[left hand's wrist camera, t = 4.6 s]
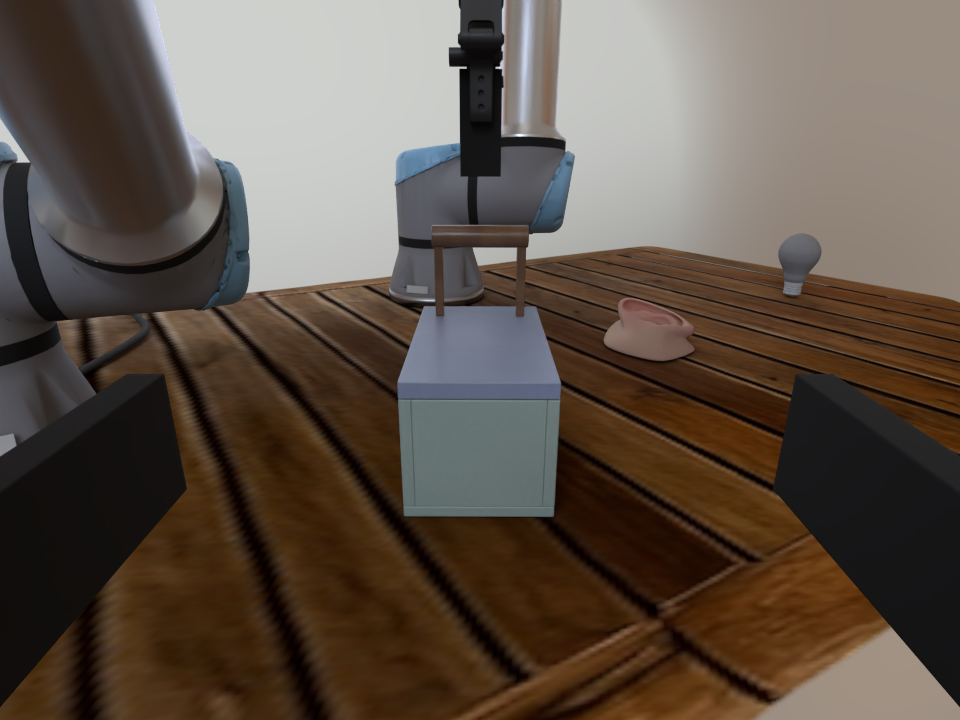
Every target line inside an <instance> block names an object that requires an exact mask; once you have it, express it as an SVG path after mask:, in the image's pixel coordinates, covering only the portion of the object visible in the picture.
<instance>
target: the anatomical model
mask: <svg viewBox="0 0 960 720" xmlns="http://www.w3.org/2000/svg"><path fill="white" fill-rule="evenodd" d="M618 313H619V317H620V320H618V321H617V322H615V323H614V324H613V325H612V326H611V327H610V328H609V329H608V331H607V333H606V334H605V337H604V343H605V345H606V346H607V347H609V348H611V349H613V350H615V351H618V352H621V353H624V354H627V355H631V356H634V357H638V358H643V359H647V360H653V361H668V360H673V359H676V358H680V357H683V356H686V355H688V354H690V353H692V352H693V351H694V350H695V349H694V347H693V345H692V344H691V343H690V342H689V341H688V340H687V337H689V336H691V335H692V334H693V333H694V331H695V329H694V327H693V326H692V325H691V324H690V323H689V322H687V321H686V320H685V319H683V318H682V317H681V316H679V315H678V314H676V313H674V312H672V311H670V310H667V309H665V308H662V307H660V306H657V305H654V304H652V303H649V302H645V301H642V300H639V299H634V298H624V299H622V300H621V301H620V302H619V305H618Z"/></svg>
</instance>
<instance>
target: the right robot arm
mask: <svg viewBox="0 0 960 720" xmlns="http://www.w3.org/2000/svg"><path fill="white" fill-rule="evenodd" d="M561 7H562V0H459V8H460V9H461V21H460V33H459V34H458V44H459V45H461V48H449V66H450V67H467V69H460V143H456V144H448V145H440V146H433V147H426V148H419V149H412V150H407V151H404V152H402V153H401V154H400V155H399V156H398V158H397V160H396V182H395V186H396V198H397V217H398V235H399V252H398V255H397V259H396V263H395V266H394V270H393V274H392V277H391V281H390V287H389V291H390V298H391V299H392V300H393V301H395V302H397V303H400V304H404V305H409V306H416V307H424V306H435V266H434V247H432V241H431V228H432V225H528V227H529V234H533V233H552V232H555V231H557V230H558V229H559V228H560V227H561V226H562V223H563V219H564V214H565V208H566V203H567V197H568V192H569V186H570V181H571V175H572V169H573V164H574V158H575V156H574V154H573V153H571V152H569V151H567V152H566V153H565V145H566V139H565V138H564V137H563V136H562V135H561V133H560V132H559V131H558V130H557V128H556V117H557V95H558V73H559V51H560V29H561ZM495 67H499V69H495ZM443 272H444V306H460V305H466V304H470V303H473V302H476V301H478V300H480V299H481V298H483V296H484V286H483V280H482V277H481V274H480V271H479V268H478V265H477V262H476V259H475V255H474V252H473V248H472V247H443Z"/></svg>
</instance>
